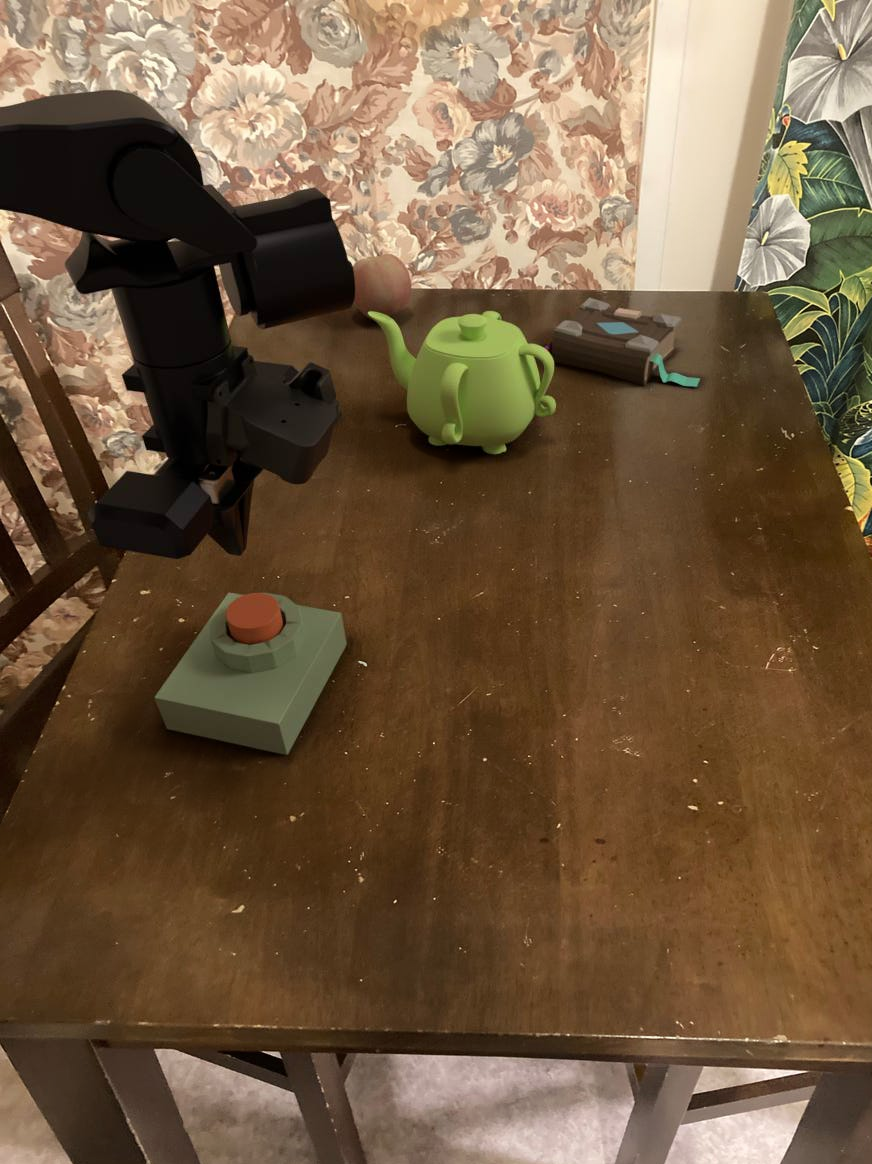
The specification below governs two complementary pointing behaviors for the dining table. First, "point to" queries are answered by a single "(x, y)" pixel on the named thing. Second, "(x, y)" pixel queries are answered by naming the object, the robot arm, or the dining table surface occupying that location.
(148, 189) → the robot arm
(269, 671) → the push button box
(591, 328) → the book
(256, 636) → the lid button
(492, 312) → the teapot
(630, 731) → the dining table surface
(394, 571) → the dining table surface
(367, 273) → the apple
